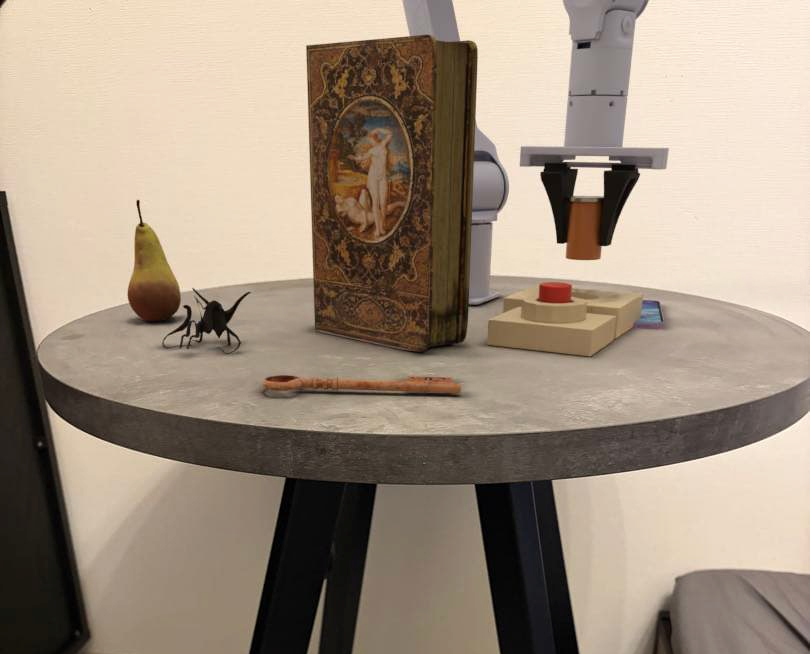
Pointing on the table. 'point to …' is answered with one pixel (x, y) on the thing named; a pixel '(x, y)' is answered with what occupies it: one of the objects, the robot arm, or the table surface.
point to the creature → (209, 322)
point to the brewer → (594, 304)
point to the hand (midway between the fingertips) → (584, 244)
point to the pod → (584, 227)
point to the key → (364, 384)
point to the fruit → (152, 278)
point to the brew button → (555, 292)
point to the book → (392, 188)
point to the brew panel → (552, 327)
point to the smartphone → (650, 316)
